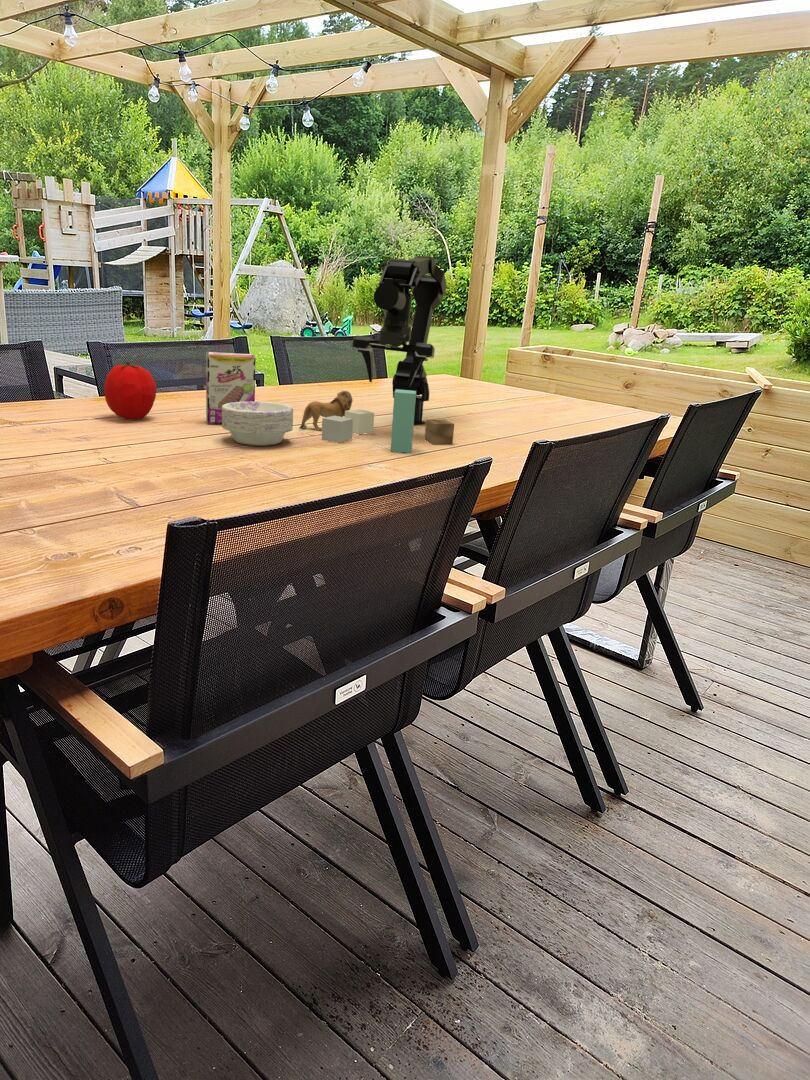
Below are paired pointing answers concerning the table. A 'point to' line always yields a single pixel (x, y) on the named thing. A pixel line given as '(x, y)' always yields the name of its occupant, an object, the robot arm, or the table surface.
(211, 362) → the candy bar box
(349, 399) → the lion figurine
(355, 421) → the off-white cube
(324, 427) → the grey cube
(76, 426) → the table surface
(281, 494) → the table surface
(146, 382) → the tomato
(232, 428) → the paper bowls
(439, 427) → the walnut cube
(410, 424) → the green block
